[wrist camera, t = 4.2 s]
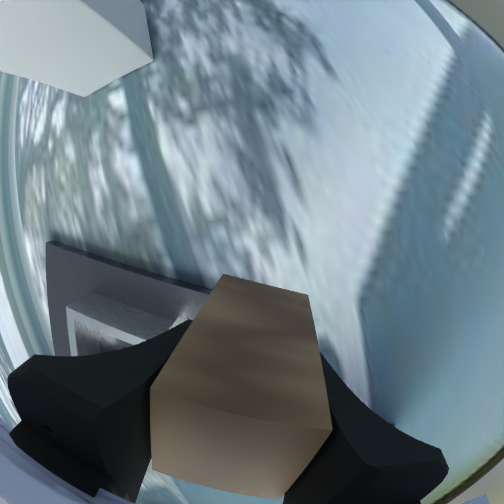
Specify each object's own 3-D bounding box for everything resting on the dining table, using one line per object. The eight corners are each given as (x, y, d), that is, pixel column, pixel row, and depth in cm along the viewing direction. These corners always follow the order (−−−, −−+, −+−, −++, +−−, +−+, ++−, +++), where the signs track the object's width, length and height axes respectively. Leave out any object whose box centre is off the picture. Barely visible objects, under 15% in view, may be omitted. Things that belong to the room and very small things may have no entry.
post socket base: (261, 302, 20) (256, 331, 16) (227, 423, 24) (219, 457, 19) (52, 240, 21) (19, 251, 17) (61, 358, 25) (39, 377, 20)
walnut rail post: (308, 294, 13) (332, 430, 5) (284, 363, 14) (279, 499, 6) (223, 273, 13) (149, 387, 5) (209, 344, 14) (152, 469, 6)
